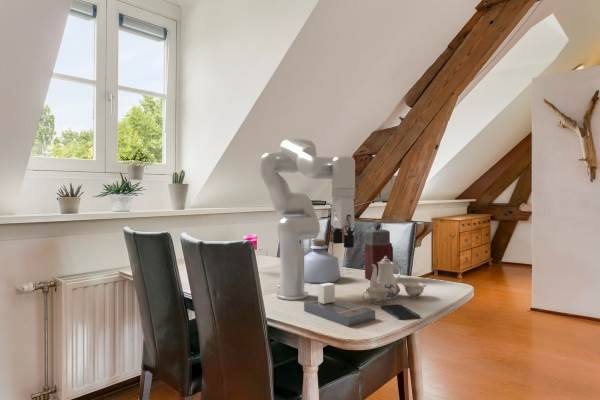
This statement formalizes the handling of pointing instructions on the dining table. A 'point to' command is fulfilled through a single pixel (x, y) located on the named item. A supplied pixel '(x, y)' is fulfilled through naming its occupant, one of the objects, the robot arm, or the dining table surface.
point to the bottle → (320, 265)
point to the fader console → (340, 312)
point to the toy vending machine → (376, 248)
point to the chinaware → (389, 283)
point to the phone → (400, 312)
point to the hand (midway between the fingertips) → (343, 245)
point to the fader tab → (326, 293)
